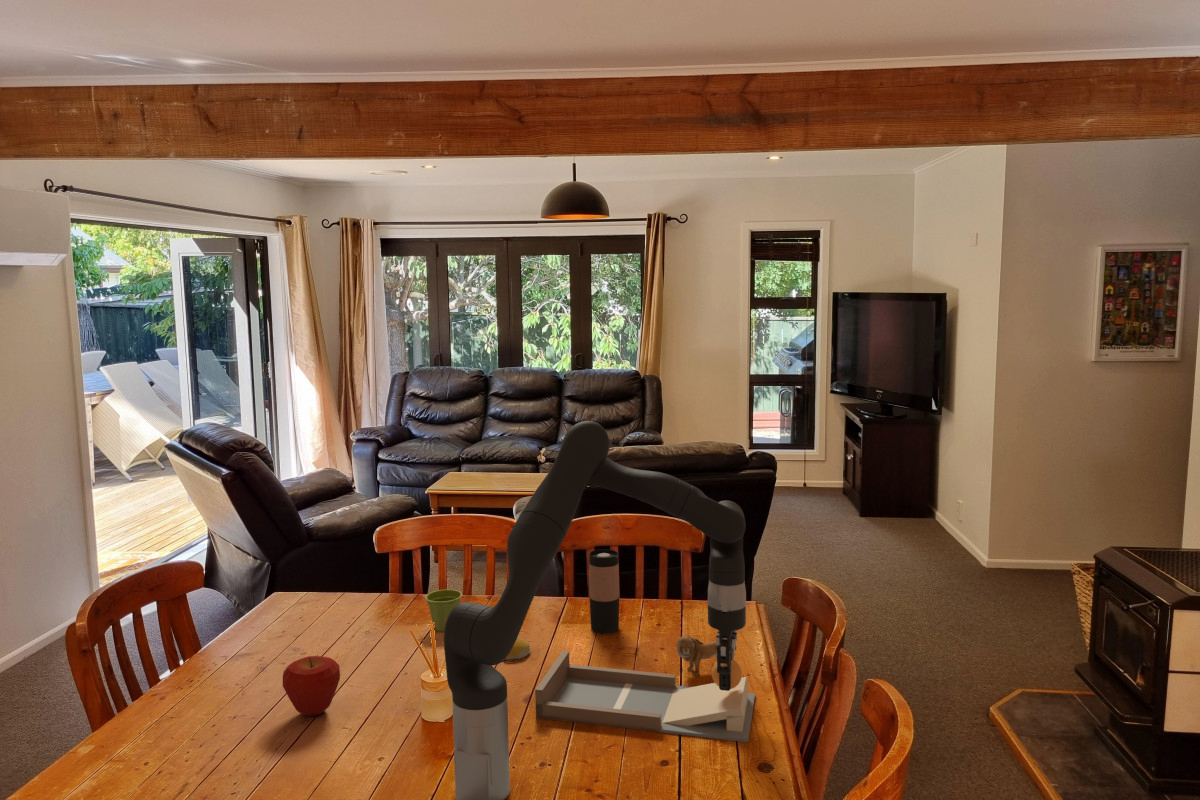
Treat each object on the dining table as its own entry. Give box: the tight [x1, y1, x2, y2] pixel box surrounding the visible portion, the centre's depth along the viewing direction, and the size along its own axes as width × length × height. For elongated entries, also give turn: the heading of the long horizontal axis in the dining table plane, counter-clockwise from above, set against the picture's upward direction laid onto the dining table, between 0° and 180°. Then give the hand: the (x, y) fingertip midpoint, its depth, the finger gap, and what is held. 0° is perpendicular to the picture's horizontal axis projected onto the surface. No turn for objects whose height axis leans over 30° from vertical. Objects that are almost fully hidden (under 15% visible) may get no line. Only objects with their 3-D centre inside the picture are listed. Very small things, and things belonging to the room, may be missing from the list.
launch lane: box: [534, 650, 756, 743], centre depth 170 cm, size 42×19×7 cm, turn 76°
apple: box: [282, 655, 341, 717], centre depth 169 cm, size 11×11×12 cm
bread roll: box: [504, 636, 531, 661], centre depth 198 cm, size 8×9×4 cm
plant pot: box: [425, 589, 463, 632], centre depth 214 cm, size 9×9×9 cm
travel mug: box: [588, 548, 620, 635], centre depth 211 cm, size 8×8×20 cm
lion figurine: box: [675, 635, 717, 676], centre depth 186 cm, size 15×5×9 cm, turn 110°
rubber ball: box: [711, 659, 743, 689], centre depth 166 cm, size 6×6×6 cm
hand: (726, 682), depth 166 cm, fingers closed on rubber ball, 6 cm apart
